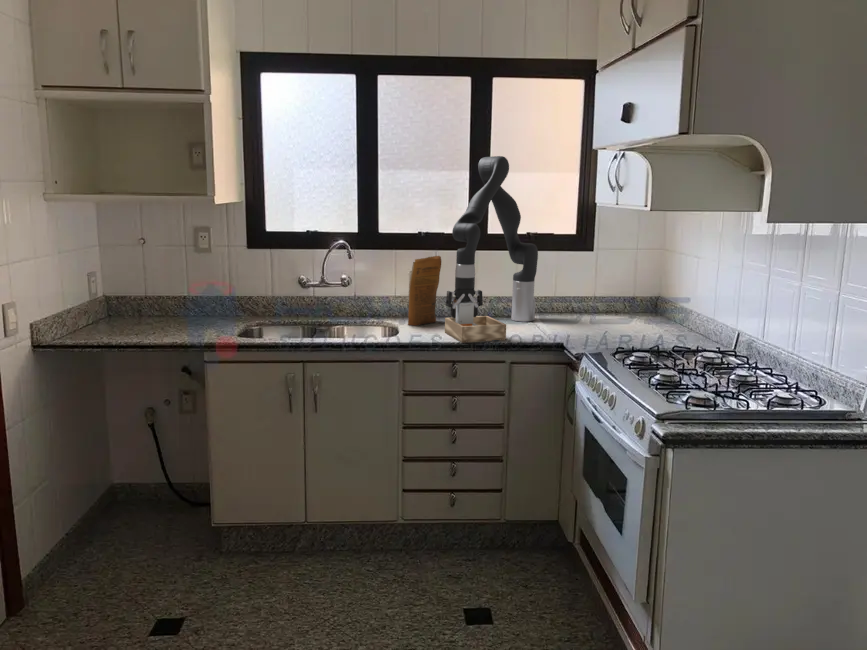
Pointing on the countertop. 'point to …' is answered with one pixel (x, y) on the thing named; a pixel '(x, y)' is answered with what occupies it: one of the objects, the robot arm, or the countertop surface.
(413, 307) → the pancake mix bag
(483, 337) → the box
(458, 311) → the skincare box
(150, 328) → the countertop surface
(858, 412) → the countertop surface
